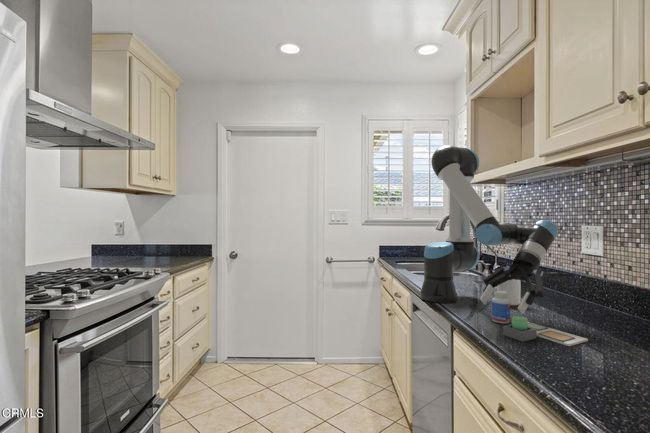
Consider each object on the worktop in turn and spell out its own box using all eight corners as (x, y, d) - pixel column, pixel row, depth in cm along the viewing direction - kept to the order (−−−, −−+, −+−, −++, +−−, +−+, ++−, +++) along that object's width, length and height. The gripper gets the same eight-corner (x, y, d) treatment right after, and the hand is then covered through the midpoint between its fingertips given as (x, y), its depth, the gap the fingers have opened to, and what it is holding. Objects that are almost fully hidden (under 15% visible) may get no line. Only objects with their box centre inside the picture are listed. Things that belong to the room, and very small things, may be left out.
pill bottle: (510, 324, 109) (510, 294, 109) (491, 322, 111) (492, 292, 111) (509, 320, 114) (509, 291, 114) (491, 318, 116) (491, 289, 116)
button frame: (503, 334, 100) (503, 326, 100) (516, 331, 103) (516, 323, 103) (522, 341, 95) (522, 332, 95) (536, 338, 97) (536, 329, 97)
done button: (508, 329, 99) (508, 316, 99) (517, 327, 101) (517, 315, 101) (521, 333, 96) (521, 320, 96) (530, 331, 98) (530, 318, 98)
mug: (497, 297, 146) (497, 273, 146) (519, 299, 142) (519, 275, 142) (496, 304, 135) (497, 278, 135) (521, 306, 131) (521, 279, 131)
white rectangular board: (510, 327, 107) (510, 324, 107) (528, 323, 111) (528, 321, 111) (569, 346, 91) (569, 343, 91) (588, 341, 95) (588, 338, 95)
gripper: (572, 269, 109) (544, 323, 102) (501, 260, 131) (474, 304, 124) (563, 253, 106) (533, 308, 99) (492, 247, 128) (463, 291, 122)
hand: (500, 306), depth 112 cm, fingers open, 13 cm apart
